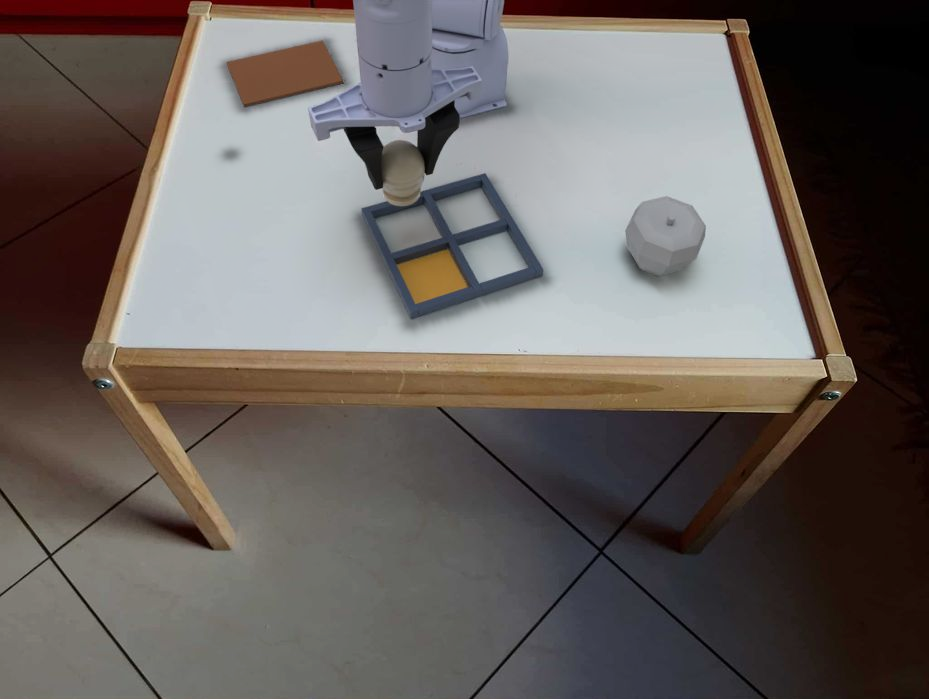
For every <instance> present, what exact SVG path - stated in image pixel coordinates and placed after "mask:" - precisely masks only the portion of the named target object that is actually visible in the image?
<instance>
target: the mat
mask: <svg viewBox="0 0 929 699" xmlns="http://www.w3.org/2000/svg"><path fill="white" fill-rule="evenodd" d="M226 66H227V69H228V70H229V74H230V75H231V78H232V80H233V83H234V85H235V88H236V90H237V93H238V95H239V98H240V101H241V103H242V105H243V107H250V106H255V105H259V104H262V103H267V102H270V101H271V102H272V101H275V100H280V99H283V98H288V97H293V96H296V95H300V94H304V93H308V92H312V91H316V90H320V89H325V88H328V87H333V86H336V85H337V86H338V85H341V84H344V79H343V77H342V75H341V73H340V71H339V70H338V67H337V66H336V64H335V61H334V60H333V58H332V56H331V53H330V52H329V50H328V47H327V45H326V44H325V42H324V40H318V41H314V42H309V43H304V44H301V45H296V46H292V47H287V48H283V49H279V50H274V51H270V52H265V53H261V54H255V55H251V56H247V57H242V58H238V59H234V60H229V61H226Z"/></svg>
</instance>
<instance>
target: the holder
mask: <svg viewBox="0 0 929 699" xmlns="http://www.w3.org/2000/svg"><path fill="white" fill-rule="evenodd" d="M489 178H490V177H489V176H488V175H487V172H484V173H480V174H478V175H477V174H476V175H474V176H470V177H466V178H463V179H460V180H459V179H458V180H456V181H452V182H449V183H445V184H441V185H438V186H434V187H431V188H428V189H425V190H424V189H423V190H421V194H420V197H419V199H418V200H417V201H416V202H414V203H413V204H411V205H408V206H396V205H392V204H390V203H389V202H387V201H386V200H385V201H383V202H379V203H376V204H372V205H369V206H365V207H361V209H360V210H361V217H362V219H363V220H364V223H365V225H366V227H367V229H368V232H369V234H370V235H371V237H372V240H373V242H374V244H375V246H376V249H377V251H378V253H379V255H380V256H381V259H382V261H383V263H384V265H385V267H386V269H387V270H386V271H388V274H389V276H390V278H391V280H392V282H393V285H394V287H395V289H396V291H397V293H398V295H399V297H400V299H401V302H402V303H403V306H404V308H405V310H406V312H407V314H408V316H409V318H410V320H412V319H415V318H419V317H422V316H425V315H428V314H430V313H434V312H437V311H440V310H443V309H446V308H449V307H452V306H456V305H458V304H462V303H464V302H468V301H470V300H473V299H476V298H479V297H482V296H486V295H488V294H491V293H494V292H498V291H501V290H504V289H506V288H511V287H513V286H517V285H520V284H522V283H525V282H529V281H531V280H534V279H537V278H541V277H542V276H543V273H544V268H543V266H542V265H541V263H540V261H539V260H538V258H537V256H536V254H535V253H534V251H533V249H532V248H531V246H530V244H529V242H528V241H527V240H526V238H525V237H524V234H523V233H522V232H521V229H520V228H519V226H518V225H517V223H516V221H515V220H514V218H513V216H512V215H511V213H510V211H509V210H508V208H507V207H506V205H505V203H504V202H503V200H502V198H501V197H500V195H499V193H498V191H497V190H496V188H495V187H494V185H493V183H492V182H491V180H490V179H489ZM478 188H481V189H482V191H483V193H484V194H485V196H486V198H487V199H488V201H489V203H490V204H491V206H492V208H493V209H494V211H495V213H496V215H497V217H498V219H499V220H496V221H493V222H489V223H486V224H483V225H480V226H476V227H473V228H470V229H469V228H468V229H467V230H463V231H459V232H457V233H454V234H453V233H452V231H451V229H450V227H449V225H448V223H447V222H446V220H445V218H444V216H443V214H442V212H441V210H440V209H439V207H438V205H437V203H436V201H438V200H441V199H444V198H448V197H451V196H454V195H457V194H462V193H464V192H468V191H471V190H475V189H478ZM419 205H424V206H425V209H426V210H427V212H428V214H429V216H430V218H431V219H432V222H433V223H434V226H435V227H436V229H437V231H438V233H439V234H440V236H441V237H440V238H437V239H434V240H431V241H426V242H424V243H421V244H417V245H413V246H411V247H407V248H404V249H399V250H397V251H394V252H391V250H390V248H389V246H388V243H387V241H386V239H385V238H384V235H383V233H382V232H381V229H380V226H379V225H378V223H377V221H376V219H375V218H378V217H381V216H386V215H388V214H389V215H390V214H393V213H395V212H399V211H402V210H406V209H410V208H413V207H416V206H419ZM504 232H507V233H508V235H509V237H510V238H511V240H512V242H513V244H514V245H515V247H516V249H517V250H518V252H519V253H520V256H521V257H522V259H523V260H524V262H525V264H526V266H527V268H522V269H519V270H517V271H513V272H510V273H508V274H505V275H501V276H498V277H495V278H492V279H489V280H486V281H482V282H479V280H478V279H477V277H476V275H475V273H474V271H473V269H472V268H471V266H470V263H469V262H468V260H467V258H466V256H465V255H464V253H463V251H462V250H461V247H460V246H462V245H467V244H468V243H471V242H475V241H478V240H482V239H485V238H489V237H491V236H494V235H498V234H501V233H504Z"/></svg>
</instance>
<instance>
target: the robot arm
mask: <svg viewBox="0 0 929 699" xmlns="http://www.w3.org/2000/svg"><path fill="white" fill-rule="evenodd" d="M352 3H353V14H354V25H355V35H356V48H357V57H358V67H359V68H358V69H359V77H360V82H358V83H356V84H354V85H353V86H351V87H349V88H347V89H346V90H344V91H342V92H341V93H338V94H337V95H335V96H333V97H331V98H330V99H329V98H328V100H325V101H324V102H321V103H318V104H316V105H312V106H309V107H307V111H308V117H309V121H310V123H309V124H310V126H311V129H312V131H313V134H314V135H315V137H316V139H317V140H316V141H318V142H321V141H325V140H329V139H330V138H331V133H333V132H337V131H340V130H343V132H344V134H345V136H346V137H347V140H348V142H349V144H350V146H351V147H352V149H353V151H354V152H355V153H356V155H357V156H358V157H359V158H360V160H362V162H363V163H364V165H365V169H366V172H367V176H368V178H369V180H370V182H371V184H372V186H373V188H374V190H376V191H377V190H381V189H382V188H383V177H382V170H381V159H382V151H383V147H384V146H385V145H384V144H383V142H382V140H381V138H380V137H379V135H378V131H377V127H398V128H399V130H400V132H402V133H404V134H410V133H413V132H417V135H416V136H417V137H416V139H417V140H416V141H417V142H416V147H417V148H418V149H419V150H420V151H421V153H422V155H423V158H424V163H425V175H426V176H427V177H428V176H430V175H433V174H434V171H435V168H436V166H437V162H438V159H439V157H440V154H441V153H442V150H443V149H444V147H445V145H446V144H447V142H448V141H449V139H450V138H451V136H452V135H453V134H454V133H455V132H456V131H457V130H458V129H459V128H460V123H461V122H460V121H461V120H463V119H466V118H471V117H474V116H477V115H482V114H484V113H490V112H493V111H497V110H500V109H504V108H506V107H507V101H506V100H505V97H506V96H505V95H506V87H507V86H506V85H507V75H508V68H509V67H508V66H509V45H508V39H507V36H506V33H505V30H504V28H503V27H502V24H501V22H502V18H503V11H504V5H505V0H352ZM426 176H425V177H426Z"/></svg>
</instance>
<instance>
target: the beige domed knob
mask: <svg viewBox="0 0 929 699" xmlns="http://www.w3.org/2000/svg"><path fill="white" fill-rule="evenodd" d="M383 146H384V147H383V151H382V159H381V170H382V177H383V188H381V189H382V196H383V199H384V200H385V202H386V201H387V202H389V203H390V204H392V205H396V206H408V205H411V204H413V203H414V202H416V201H417V200H418V199H419V197H420V194H421V191H422V190H421V189H422V185H423V184H424V181H425V177H426V176H425V175H426V174H425V163H424V158H423V155H422V153H421V151H420V150H419V149H418V148H417V145H415V144H414V143H413V142H411V141H408V140H403V139H396V140H393V141H390V142H388V143H386V144H385V145H383Z"/></svg>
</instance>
